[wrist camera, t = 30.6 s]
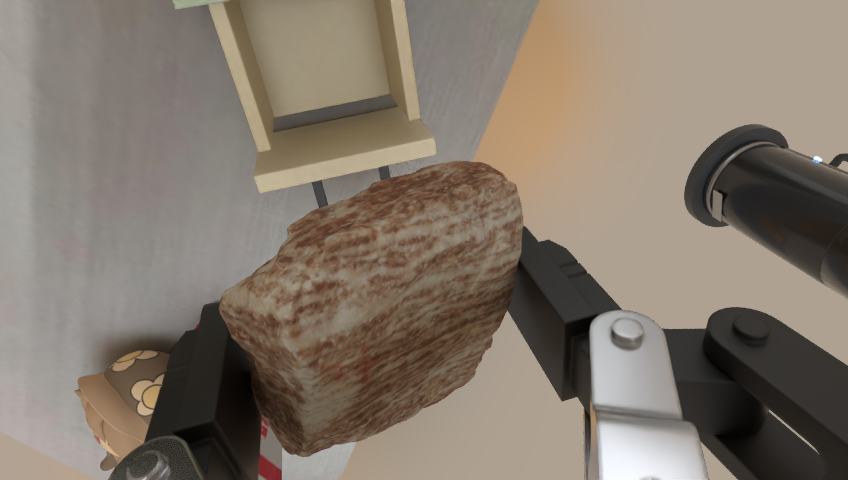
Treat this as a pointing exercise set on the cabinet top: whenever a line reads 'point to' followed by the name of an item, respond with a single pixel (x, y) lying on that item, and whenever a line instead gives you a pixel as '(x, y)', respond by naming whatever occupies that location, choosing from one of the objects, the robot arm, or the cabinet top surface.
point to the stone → (378, 303)
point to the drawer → (323, 85)
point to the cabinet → (194, 3)
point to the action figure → (123, 402)
